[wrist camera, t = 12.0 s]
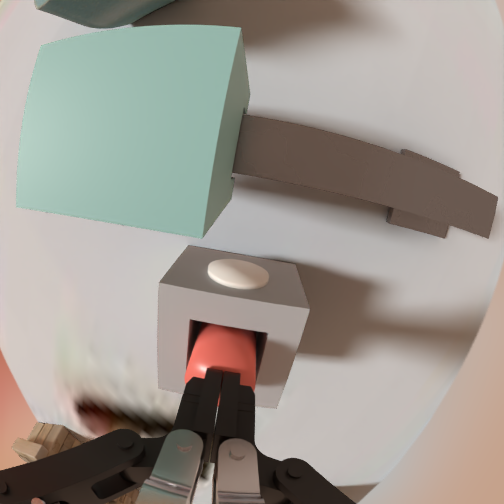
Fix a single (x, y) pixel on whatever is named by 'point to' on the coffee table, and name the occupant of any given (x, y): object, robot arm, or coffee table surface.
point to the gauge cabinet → (231, 314)
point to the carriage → (135, 126)
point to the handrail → (365, 175)
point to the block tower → (55, 449)
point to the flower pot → (100, 11)
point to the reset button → (224, 353)
